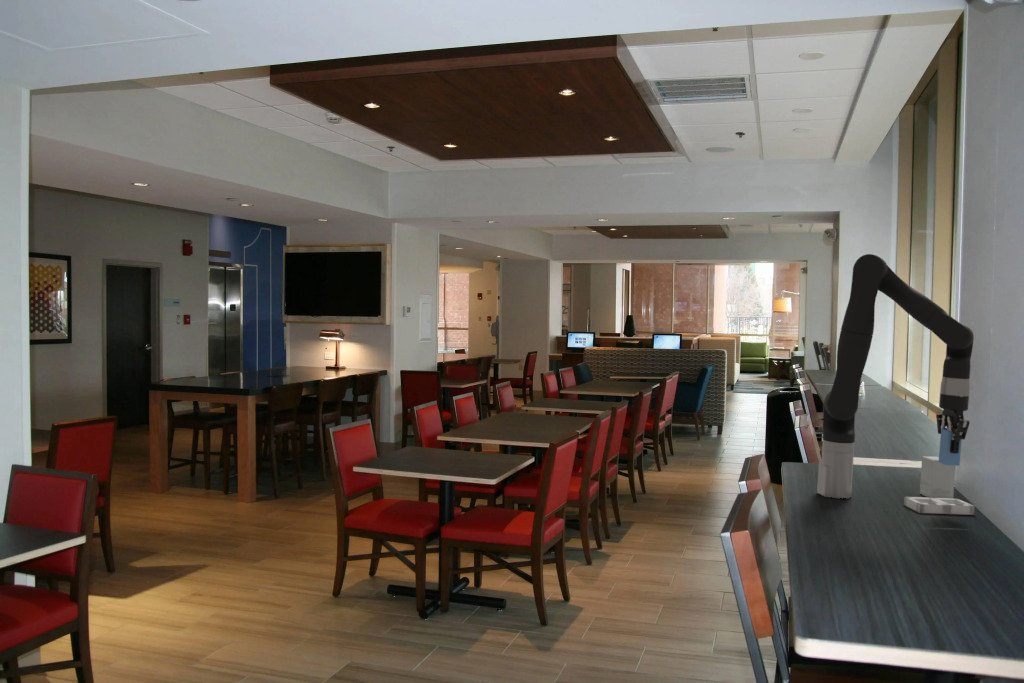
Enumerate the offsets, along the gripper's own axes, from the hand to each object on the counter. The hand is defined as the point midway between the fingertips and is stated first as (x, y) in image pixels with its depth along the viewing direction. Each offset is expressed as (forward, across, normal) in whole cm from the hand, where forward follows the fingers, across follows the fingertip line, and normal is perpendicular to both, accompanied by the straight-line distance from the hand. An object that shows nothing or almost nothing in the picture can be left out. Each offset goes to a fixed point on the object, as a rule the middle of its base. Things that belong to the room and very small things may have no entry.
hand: (949, 451), depth 246 cm
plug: (+4, 0, 0) cm, 4 cm away
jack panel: (+18, 0, -2) cm, 18 cm away
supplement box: (+18, -18, +7) cm, 26 cm away
